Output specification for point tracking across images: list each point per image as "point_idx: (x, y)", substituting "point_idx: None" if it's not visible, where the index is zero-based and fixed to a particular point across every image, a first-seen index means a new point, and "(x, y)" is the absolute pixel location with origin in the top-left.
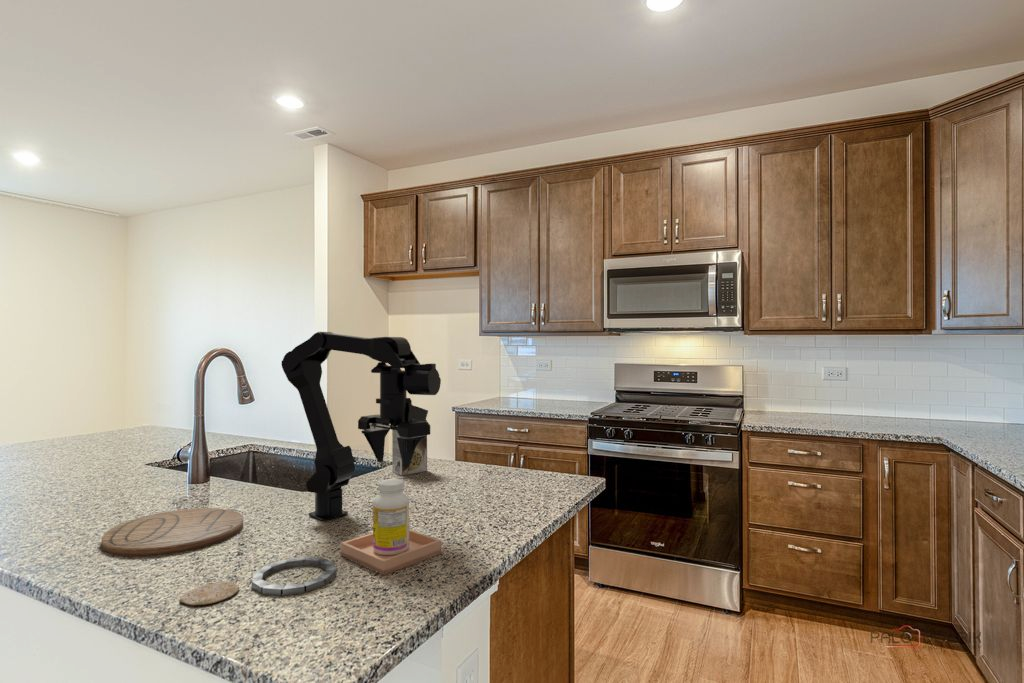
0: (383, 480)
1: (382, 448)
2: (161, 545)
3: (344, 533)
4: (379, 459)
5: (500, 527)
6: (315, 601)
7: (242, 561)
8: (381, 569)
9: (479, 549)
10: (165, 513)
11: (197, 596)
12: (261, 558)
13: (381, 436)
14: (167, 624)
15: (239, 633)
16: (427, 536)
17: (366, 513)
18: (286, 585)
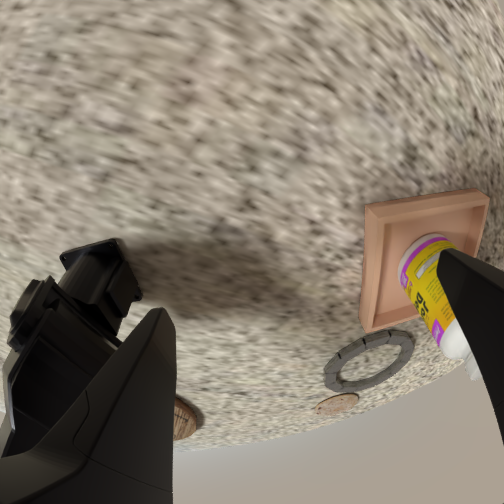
0: (476, 373)
1: (137, 389)
2: (190, 430)
3: (253, 285)
4: (173, 339)
5: (456, 4)
6: (426, 349)
7: (271, 393)
8: None
9: (501, 130)
10: None
11: (338, 410)
12: (278, 382)
13: (110, 492)
14: (358, 412)
15: (411, 384)
16: (466, 205)
17: (121, 192)
18: (391, 372)
